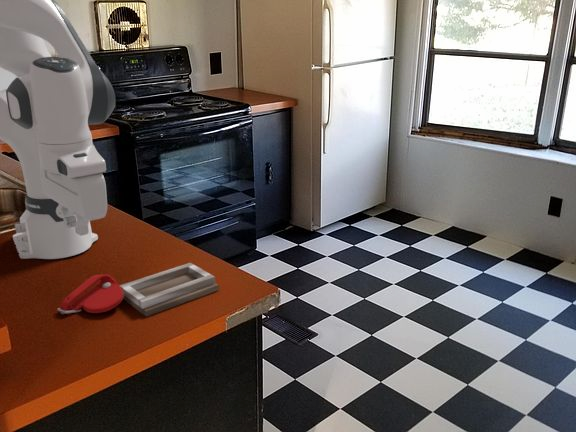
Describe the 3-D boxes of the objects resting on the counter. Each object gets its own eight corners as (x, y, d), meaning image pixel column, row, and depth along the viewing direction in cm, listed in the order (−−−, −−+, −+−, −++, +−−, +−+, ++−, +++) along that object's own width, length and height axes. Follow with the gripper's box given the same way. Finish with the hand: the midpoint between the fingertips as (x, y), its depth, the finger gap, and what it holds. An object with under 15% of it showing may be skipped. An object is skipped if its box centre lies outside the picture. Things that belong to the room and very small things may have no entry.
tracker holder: (120, 316, 115) (130, 286, 124) (114, 298, 113) (125, 268, 122) (57, 323, 116) (72, 292, 125) (51, 304, 114) (66, 274, 122)
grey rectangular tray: (117, 295, 124) (116, 283, 123) (188, 271, 135) (187, 260, 134) (146, 316, 116) (145, 304, 115) (218, 290, 126) (218, 278, 125)
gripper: (27, 147, 109) (37, 218, 114) (73, 170, 94) (83, 251, 99) (61, 142, 113) (70, 211, 117) (110, 163, 98) (118, 241, 103)
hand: (76, 230), depth 108 cm, fingers open, 4 cm apart
